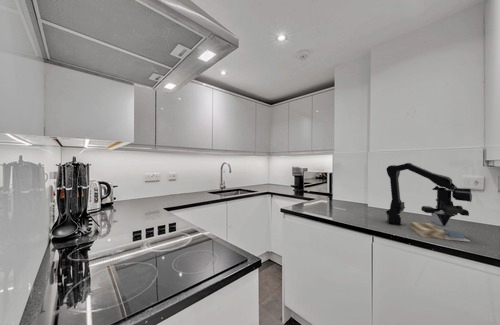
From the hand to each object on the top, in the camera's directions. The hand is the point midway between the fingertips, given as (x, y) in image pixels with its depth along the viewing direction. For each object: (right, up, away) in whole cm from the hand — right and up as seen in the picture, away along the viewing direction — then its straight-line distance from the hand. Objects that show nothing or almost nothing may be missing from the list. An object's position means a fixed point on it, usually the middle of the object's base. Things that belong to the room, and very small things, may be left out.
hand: (443, 225), depth 109 cm
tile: (+3, -3, -2) cm, 5 cm away
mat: (+2, -6, -1) cm, 6 cm away
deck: (-7, -6, +3) cm, 10 cm away
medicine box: (+15, -5, +18) cm, 24 cm away
